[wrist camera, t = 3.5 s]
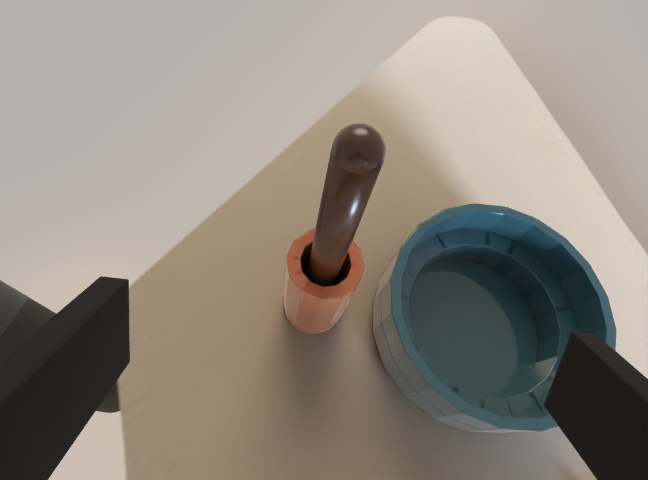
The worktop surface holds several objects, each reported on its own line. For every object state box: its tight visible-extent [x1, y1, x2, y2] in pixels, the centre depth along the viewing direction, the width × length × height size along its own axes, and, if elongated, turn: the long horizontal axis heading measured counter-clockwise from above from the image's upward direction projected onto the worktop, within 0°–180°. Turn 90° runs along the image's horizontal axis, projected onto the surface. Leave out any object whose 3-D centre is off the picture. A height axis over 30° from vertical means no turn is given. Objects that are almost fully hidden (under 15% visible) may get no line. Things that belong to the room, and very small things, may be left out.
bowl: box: [373, 204, 616, 433], centre depth 31 cm, size 15×15×6 cm
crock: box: [283, 229, 364, 334], centre depth 29 cm, size 5×5×9 cm
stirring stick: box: [306, 124, 386, 287], centre depth 24 cm, size 2×2×20 cm
